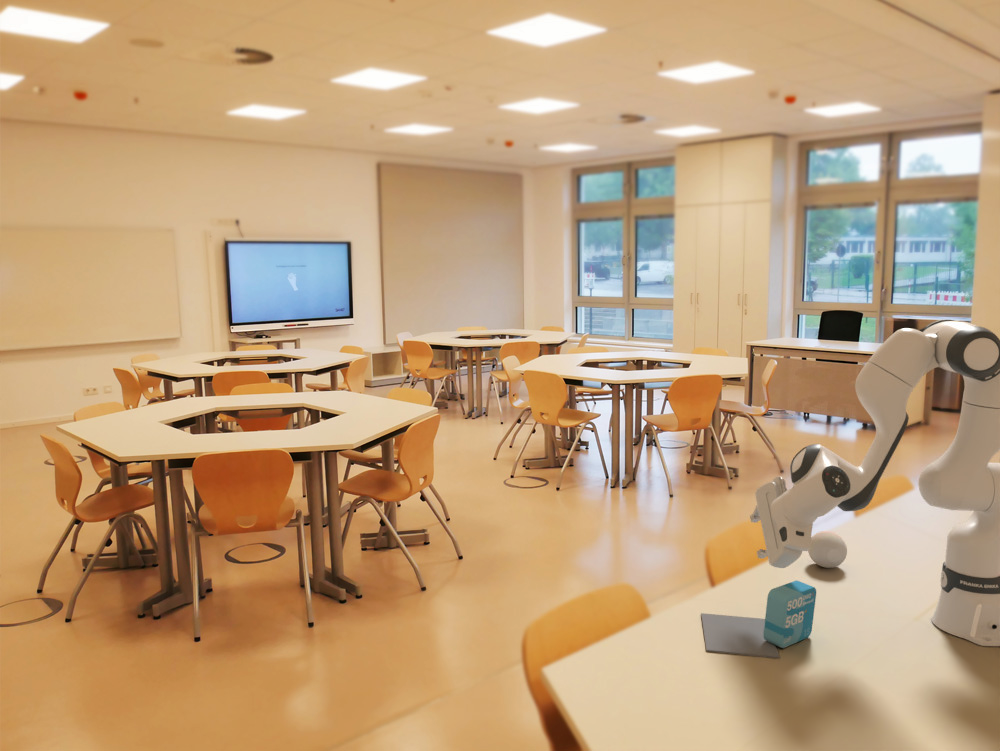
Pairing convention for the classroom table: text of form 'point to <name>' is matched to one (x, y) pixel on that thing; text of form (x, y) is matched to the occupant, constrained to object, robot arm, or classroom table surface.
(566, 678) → the classroom table surface
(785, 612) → the data package
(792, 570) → the classroom table surface
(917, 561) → the classroom table surface
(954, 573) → the robot arm
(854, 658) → the classroom table surface
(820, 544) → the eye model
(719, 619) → the mat
